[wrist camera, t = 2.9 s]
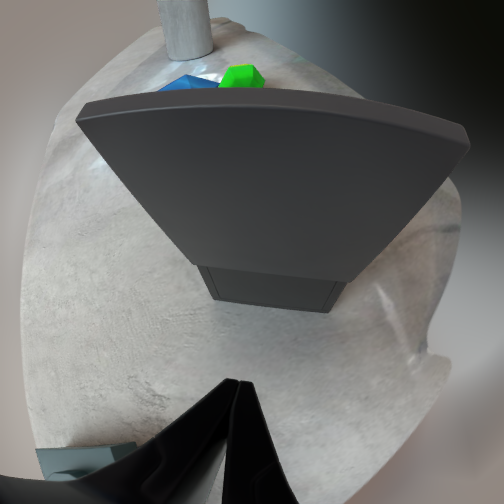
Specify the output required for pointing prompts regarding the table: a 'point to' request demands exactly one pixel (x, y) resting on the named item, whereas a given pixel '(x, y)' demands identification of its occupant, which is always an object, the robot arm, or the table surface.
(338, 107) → the lid
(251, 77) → the apple
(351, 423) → the table surface
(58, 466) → the control block
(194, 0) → the grey fabric cylinder
